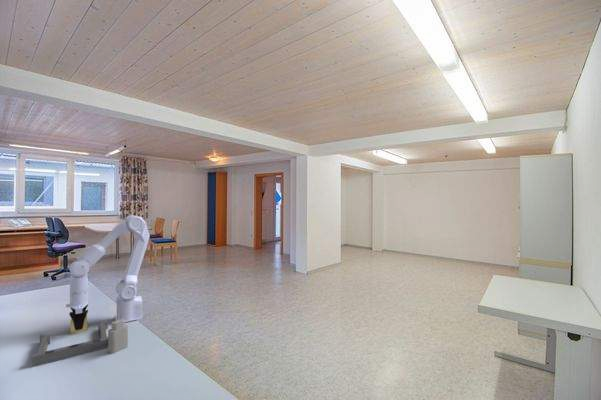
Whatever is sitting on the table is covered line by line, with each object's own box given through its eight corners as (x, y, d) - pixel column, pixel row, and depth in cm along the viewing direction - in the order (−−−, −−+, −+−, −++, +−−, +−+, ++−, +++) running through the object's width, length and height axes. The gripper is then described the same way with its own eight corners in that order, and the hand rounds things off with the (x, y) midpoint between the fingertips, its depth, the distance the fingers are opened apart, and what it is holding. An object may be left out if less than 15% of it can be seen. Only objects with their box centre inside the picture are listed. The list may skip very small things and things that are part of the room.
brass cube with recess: (87, 326, 116) (87, 314, 116) (87, 330, 113) (87, 317, 113) (71, 330, 113) (71, 317, 113) (70, 333, 110) (70, 320, 110)
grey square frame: (107, 327, 115) (107, 320, 115) (110, 347, 100) (110, 338, 100) (39, 342, 103) (39, 333, 103) (31, 367, 88) (31, 356, 88)
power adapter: (107, 351, 97) (107, 315, 97) (123, 344, 102) (123, 310, 102) (112, 354, 96) (112, 317, 96) (128, 346, 100) (128, 312, 100)
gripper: (67, 288, 116) (67, 322, 116) (64, 298, 105) (64, 336, 105) (88, 285, 121) (88, 318, 121) (89, 294, 109) (88, 331, 109)
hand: (79, 326), depth 113 cm, fingers open, 6 cm apart
